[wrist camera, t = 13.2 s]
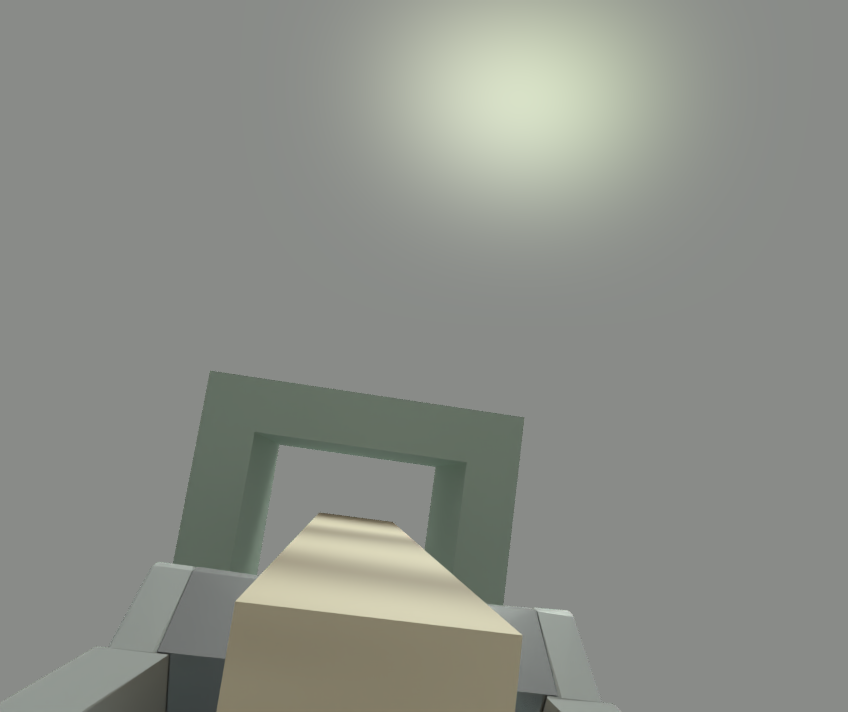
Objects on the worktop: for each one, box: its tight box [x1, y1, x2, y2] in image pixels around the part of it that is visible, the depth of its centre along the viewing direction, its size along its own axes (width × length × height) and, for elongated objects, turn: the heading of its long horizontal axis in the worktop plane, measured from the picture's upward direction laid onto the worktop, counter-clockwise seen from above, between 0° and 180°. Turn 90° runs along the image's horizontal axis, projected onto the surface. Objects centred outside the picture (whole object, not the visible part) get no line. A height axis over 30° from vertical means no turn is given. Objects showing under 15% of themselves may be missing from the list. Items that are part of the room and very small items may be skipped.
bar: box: [216, 513, 523, 712], centre depth 15 cm, size 19×2×2 cm, turn 6°
